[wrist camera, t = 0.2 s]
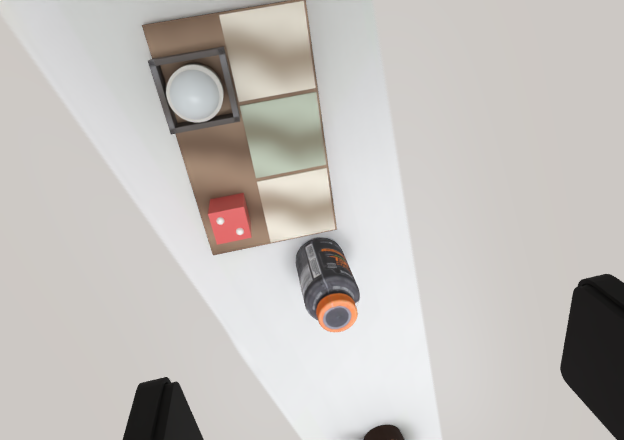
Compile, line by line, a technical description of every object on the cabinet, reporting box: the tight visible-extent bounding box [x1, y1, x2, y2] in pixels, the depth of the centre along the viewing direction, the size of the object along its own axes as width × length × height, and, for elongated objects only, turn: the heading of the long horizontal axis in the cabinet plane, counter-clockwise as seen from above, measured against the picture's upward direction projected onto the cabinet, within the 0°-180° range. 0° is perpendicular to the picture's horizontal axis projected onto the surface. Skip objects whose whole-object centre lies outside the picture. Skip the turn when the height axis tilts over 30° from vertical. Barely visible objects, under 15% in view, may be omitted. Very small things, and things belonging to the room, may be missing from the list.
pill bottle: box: [296, 238, 360, 332], centre depth 46 cm, size 6×6×11 cm
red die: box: [208, 193, 252, 245], centre depth 43 cm, size 4×4×4 cm
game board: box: [142, 0, 337, 255], centre depth 42 cm, size 24×14×3 cm, turn 8°
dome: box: [166, 63, 224, 123], centre depth 36 cm, size 5×5×4 cm
